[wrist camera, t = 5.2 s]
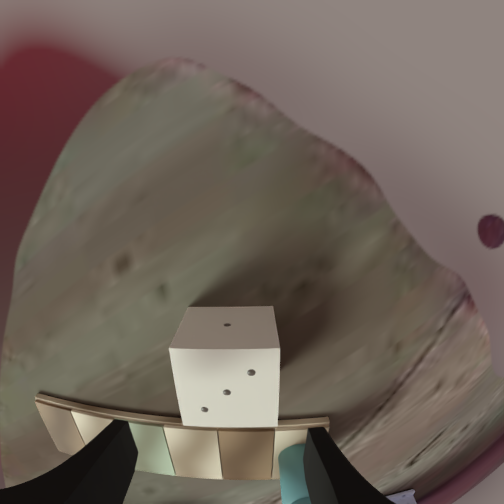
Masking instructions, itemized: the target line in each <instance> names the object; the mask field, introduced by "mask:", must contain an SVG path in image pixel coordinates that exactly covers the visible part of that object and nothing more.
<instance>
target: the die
mask: <svg viewBox="0 0 504 504" xmlns="http://www.w3.org/2000/svg"><path fill="white" fill-rule="evenodd" d="M169 351H170V357H171V364H172V370H173V375H174V381H175V387H176V392H177V397H178V403H179V408H180V413H181V418H182V422H183V426H200V427H278V405H279V375H280V344H279V338H278V333H277V327H276V321H275V315H274V309H273V306H250V307H188V308H187V310H186V312H185V315H184V317H183V319H182V321H181V323H180V325H179V327H178V330H177V332H176V334H175V336H174V338H173V341H172V343H171V345H170V347H169Z"/></svg>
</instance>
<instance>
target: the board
mask: <svg viewBox="0 0 504 504" xmlns="http://www.w3.org/2000/svg"><path fill="white" fill-rule="evenodd" d="M35 399H36V401H35V403H36V406H37V408H38V410H39V412H40V414H41V417H42V419H43V421H44V423H45V425H46V427H47V429H48V431H49V433H50V435H51V437H52V439H53V441H54V443H55V445H56V447H57V448H58V450H59V451H61V452H64V453H67V454H71V455H74V454H76V453H77V452H78V451H79V450H81V449H82V448H83V447H84V446H85V445H87V444H88V443H89V442H90V441H91V440H92V439H93V438H95V437H96V436H97V435H98V434H99V433H100V432H101V431H102V430H103V429H104V428H105V427H106V426H108V425H109V424H110V423H111V422H112V421H113V420H114V419H118V420H124V421H128V423H129V426H130V429H131V432H132V435H133V438H134V441H135V444H136V447H137V449H138V457H137V462H136V467H135V470H139V471H145V472H152V473H159V474H166V475H174V476H175V475H176V476H183V477H194V478H208V479H229V480H267V479H280V473H279V463H278V456H279V454H280V452H281V451H282V450H284V449H285V448H287V447H289V446H292V445H296V444H305V443H306V437H307V430H308V428H313V427H324V428H325V429H326V430H327V432H329V423H330V421H329V418H328V417H320V418H307V419H291V420H278V427H200V426H183V422H182V418H174V417H164V416H154V415H146V414H138V413H131V412H124V411H118V410H112V409H106V408H100V407H95V406H90V405H85V404H80V403H76V402H71V401H67V400H63V399H58V398H54V397H50V396H47V395H43V394H39V393H38V394H37V395H36V396H35Z"/></svg>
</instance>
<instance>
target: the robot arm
mask: <svg viewBox="0 0 504 504" xmlns="http://www.w3.org/2000/svg"><path fill="white" fill-rule="evenodd" d="M137 457H138V449H137V447H136V444H135V441H134V438H133V435H132V432H131V429H130V426H129V423H128V421H124V420H118V419H114V420H113V421H112V422H111V423H110V424H109V425H108V426H106V427H105V428H104V429H103V430H102V431H101V432H100V433H99V434H98V435H97V436H96V437H95V438H93V439H92V440H91V441H90V442H89V443H88V444H87V445H85V446H84V447H83V448H82V449H81V450H79V451H78V452H77V453H76V454H74V455H73V456H72V457H70V458H69V459H68V460H66V461H65V462H63V463H62V464H61V465H59V466H57V467H56V468H54V469H52V470H51V471H49V472H47V473H45V474H43V475H41V476H39V477H37V478H34V479H32V480H30V481H27V482H25V483H22V484H19V485H16V486H13V487H9V488H5V489H0V504H123V501H124V498H125V496H126V493H127V490H128V488H129V485H130V482H131V479H132V477H133V474H134V471H135V467H136V462H137ZM303 464H304V474H305V481H306V485H307V489H308V493H309V497H310V501H311V504H417V503H416V501H415V498H414V496H413V494H414V493H415V490H414V489H411V490H408V491H404V492H401V493H397V494H393V495H389V496H384V495H383V494H382V493H380V492H379V491H378V490H377V489H376V488H374V487H373V486H372V485H371V484H370V483H369V482H368V481H367V480H366V479H365V478H364V477H363V476H362V475H361V474H360V473H359V472H358V471H357V470H356V469H355V468H354V467H353V466H352V464H351V463H350V462H349V461H348V460H347V458H346V457H345V456H344V455H343V453H342V452H341V451H340V449H339V448H338V447H337V445H336V444H335V443H334V441H333V440H332V438H331V437H330V435H329V433H328V432H327V430H326V429H325V428H324V427H313V428H308V430H307V437H306V443H305V449H304V455H303Z"/></svg>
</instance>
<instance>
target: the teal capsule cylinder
mask: <svg viewBox="0 0 504 504" xmlns="http://www.w3.org/2000/svg"><path fill="white" fill-rule="evenodd" d="M304 449H305V444H296V445H292V446H289V447H287V448H285V449H284V450H282V451H281V452H280V454H279V456H278V463H279V473H280V484H281V495H282V504H311V501H310V497H309V493H308V489H307V485H306V481H305V474H304V464H303V455H304Z"/></svg>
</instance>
